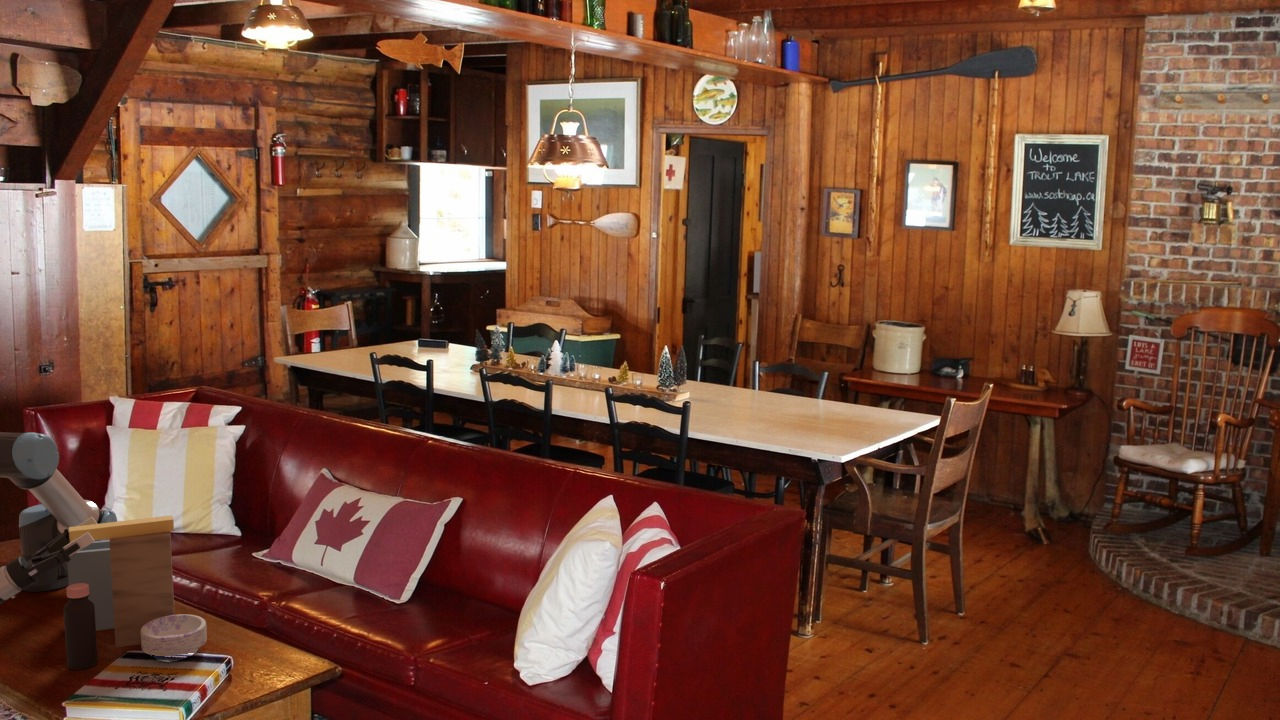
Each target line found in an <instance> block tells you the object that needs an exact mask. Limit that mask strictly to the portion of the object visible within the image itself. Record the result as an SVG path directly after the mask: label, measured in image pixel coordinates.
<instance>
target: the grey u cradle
mask: <svg viewBox="0 0 1280 720" xmlns="http://www.w3.org/2000/svg"><path fill="white" fill-rule="evenodd" d="M69 557H70V559H71V560H70V561H69V562H67V564H68V579H69V585H72V584H76V583H86V584H88V585H89V597H88V599H89V600H90V601H92V602H93V603H94V607H95V623H96V632H98V631H104V630H109V629H110V630H111V629H114V630H115V626H114V609H113V592H112V575H111V558H110V541H109V540H103V541H94V542H93V543H91V544H90V545H88V546H86V547H85V548H83V549H81V550H80V551H78V552H77V553H75V554H73V555H72V556H69ZM69 585H68V586H69Z"/></svg>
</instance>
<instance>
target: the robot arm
mask: <svg viewBox="0 0 1280 720" xmlns="http://www.w3.org/2000/svg"><path fill="white" fill-rule="evenodd" d="M58 450H59V449H58V446H57V444H56V442H55V441H54V439H53V438H51V437H50V436H49V435H47V434H44V433H38V432H31V431H30V432H3V431H2V432H1V431H0V478H6V479H9V480H10V481H11V482H12V483H13V485H15V486H16V487H18V488H20V489H22V490H28V491H29V492H30V493H31V494H32V495H33V496H34V497H35V498H36V500H38V501H39V504H36V505H33V506H30V507H27V508H25V509H23V510H22V511H21V512H20V513H19V516H18V518H19V519H18V528H19V539H20V552H21V556H17V557H16V558H14V559H13V560H10V562H8V563H6V565H3V566H0V605H1V604H3V603H4V602H5V601H8V600H9V599H10V598H11V599H15V598H16V595H17V594H19V593H20V592H21V591H23V592H29V593H30V592H32V593H36V592H37V593H38V592H39V593H40V592H47V591H52V590H57V589H62V588H64V587H68V586H69V579H68V564H67V562H69V561H70V560H71V559H70V557H69V556H72V555H73V554H75V553H77V552H78V551H80V550H81V549H83V548H85V547H86V546H88V545H90V544H91V543H93V542H94V541H101V540H103V539H101V540H94V539H93V538H92V536H91V535H90V534H89V532H87V533H85V534H84V535H82V536H81V537H79V538H77V539H76V540H74V541H72V542H71V543H70V539H69V527H75V526H83V525H92V524H101V523H110V522H118V518H117V514H116V513H115V512H114V511H113V510H109V509H100V508H99V507H98V505H97V504H96V503H94V502H93V501H91V500H90V499H89V500H88V499H84V498H83V497H82V496H81V495H80V494H79V492H78V491H77V490H76V489H75V488H74V486H73V485H71V483H70V482H69V481H68V480H67V479H66V477H64V475H63V473H61V472H60V471H59V470H58V469H57V468H58V466H59V461H60V454H59V452H58ZM40 503H41V504H40Z"/></svg>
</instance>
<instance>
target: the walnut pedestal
mask: <svg viewBox="0 0 1280 720" xmlns="http://www.w3.org/2000/svg"><path fill="white" fill-rule="evenodd" d="M171 535H172V534H171V531H168V532H160V533H151V534H143V535H135V536H126V537H118V538H110V540H109V541H110V558H111V575H112V592H113V609H114V626H115V628H114V638H115V639H114V641H115V647H116V648H120V647H128V646H129V647H130V646H137V645H141V632H140V631H141V628H142V627H143V626H144V625H145V624H146V623H148V622H150V621H152V620H154V619H157V618H160V617H164V616H169V615H176V614H175V601H174V600H175V598H174V596H175V595H174V577H173V559H172V557H173V556H172V541H171V539H172V538H171Z"/></svg>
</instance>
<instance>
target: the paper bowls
mask: <svg viewBox="0 0 1280 720" xmlns="http://www.w3.org/2000/svg"><path fill="white" fill-rule="evenodd" d="M207 631H208V629H207V621H206V620H205V618H203V617H201V616H199V615H195V614H186V613H185V614H184V613H183V614H175V615H169V616H164V617H160V618H157V619H154V620H152V621H150V622H148V623H146V624H145V625H144V626H143V627H142V628H141V631H140V632H141V644H140V645H141V650H142V651H143V652H144V654H146V655H150V656H152V655H155V656H169V655H177V654H188V653H195V654H196V653H197V652H198V650H199V649H200V648H201V647H202V646H204V645H205V644H206V643H207V639H208V637H207V636H208V634H207V633H208V632H207Z"/></svg>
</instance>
